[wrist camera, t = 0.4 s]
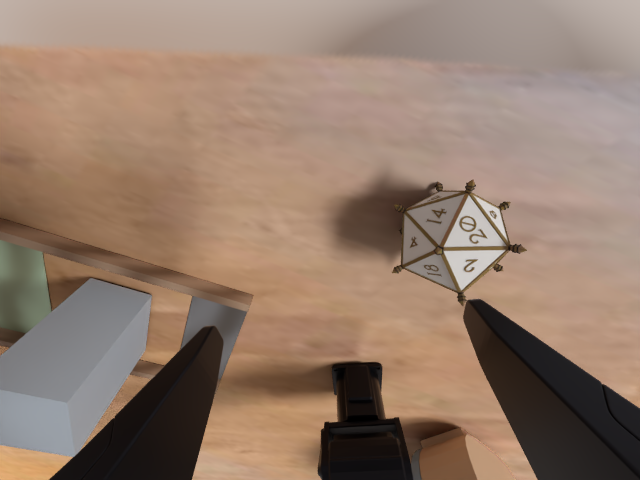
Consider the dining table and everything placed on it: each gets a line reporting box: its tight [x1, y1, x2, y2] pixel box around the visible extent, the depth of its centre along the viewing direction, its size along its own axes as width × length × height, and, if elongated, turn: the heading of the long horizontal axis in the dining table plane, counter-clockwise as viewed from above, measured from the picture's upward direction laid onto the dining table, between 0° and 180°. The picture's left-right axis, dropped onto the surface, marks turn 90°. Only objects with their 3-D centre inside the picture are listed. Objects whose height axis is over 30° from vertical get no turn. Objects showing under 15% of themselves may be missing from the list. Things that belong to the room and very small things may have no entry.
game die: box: [392, 180, 527, 306], centre depth 20 cm, size 9×8×10 cm
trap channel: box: [0, 218, 253, 394], centre depth 29 cm, size 33×18×2 cm, turn 67°
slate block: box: [0, 278, 152, 457], centre depth 26 cm, size 6×10×11 cm, turn 157°
